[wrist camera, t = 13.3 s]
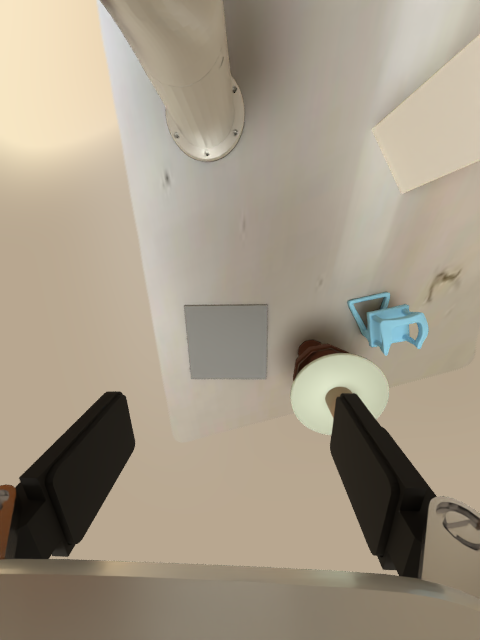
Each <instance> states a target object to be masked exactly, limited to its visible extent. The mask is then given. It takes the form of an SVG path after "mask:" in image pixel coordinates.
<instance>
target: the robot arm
mask: <svg viewBox="0 0 480 640" xmlns="http://www.w3.org/2000/svg"><path fill="white" fill-rule="evenodd" d="M100 1H101V3H102V4H103V5H104V7H105V8H106V9H107V11H108V12H109V13H110V15H111V16H112V18H113V19H114V21H115V22H116V24H117V25H118V27H119V29H120V30H121V32H122V33H123V35H124V37H125V38H126V40H127V42H128V43H129V45H130V47H131V48H132V50H133V52H134V53H135V55H136V57H137V58H138V60H139V62H140V64H141V66H142V67H143V69H144V71H145V72H146V74H147V76H148V78H149V79H150V81H151V83H152V84H153V86H154V88H155V89H156V91H157V93H158V95H159V96H160V98H161V100H162V101H163V103H164V105H165V107H166V120H167V125H168V128H169V131H170V134H171V135H172V137H173V139H174V141H175V142H176V144H177V145H178V147H179V148H180V149H181V150H182V151H183V152H184V153H185V154H187V155H188V156H189V157H191V158H193V159H196V160H199V161H215V160H218V159H220V158H222V157H224V156H225V155H227V154H228V153H229V152H230V151H231V150H232V149H233V148H234V147H235V145H236V144H237V142H238V140H239V138H240V136H241V133H242V130H243V126H244V115H245V113H244V102H243V97H242V94H241V91H240V88H239V86H238V85H237V83H236V81H235V79H234V78H233V77H232V76H231V73H230V64H229V54H228V45H227V35H226V26H225V15H224V6H223V0H100ZM233 92H236V93H233ZM234 134H237V136H234ZM178 136H179V138H177V137H178ZM206 155H209V156H208V157H206ZM134 447H135V439H134V434H133V429H132V424H131V419H130V414H129V409H128V405H127V400H126V396H124V395H123V394H122V393H121V392H106V393H104V395H102V396H101V397H100V398H99V399H98V400H97V401H96V402H95V403H94V404H93V405H92V406H91V407H90V408H89V409H88V410H87V411H86V412H85V413H84V414H83V415H82V416H81V417H80V418H79V419H78V420H77V421H76V422H75V423H74V424H73V425H72V426H71V427H70V428H69V429H68V430H67V431H66V432H65V433H64V434H63V435H62V436H61V437H60V438H59V439H58V440H57V441H56V442H55V443H54V444H53V445H52V446H51V447H50V448H49V449H48V450H47V451H46V452H45V453H44V454H43V455H42V456H41V457H40V458H39V459H38V460H37V461H36V462H35V463H34V464H33V465H32V466H31V467H30V468H29V469H28V470H27V471H26V472H25V473H24V474H23V475H22V476H20V478H19V479H20V481H21V482H20V483H19V484H18V485H17V486H16V487H13V486H12V485H1V486H0V640H480V513H478V512H477V511H476V510H475V509H473V508H471V507H470V506H468V505H466V504H465V503H463V502H460V501H458V500H456V499H453V498H449V497H445V496H440V497H437V496H436V495H435V494H434V492H433V491H432V490H431V488H430V487H429V486H428V484H427V483H426V482H425V481H424V479H423V478H422V477H421V475H420V474H419V473H418V471H417V470H416V469H415V467H414V466H413V465H412V463H411V462H410V461H409V459H408V458H407V457H406V455H405V454H404V453H403V452H402V450H401V449H400V448H399V446H398V445H397V444H396V442H395V441H394V440H393V438H392V437H391V436H390V434H389V433H388V432H387V431H386V430H385V429H384V428H383V427H381V426H380V424H379V423H378V422H377V421H376V419H375V418H374V416H373V415H372V414H371V412H370V411H369V410H368V408H367V407H366V406H365V404H364V403H363V402H362V400H361V399H360V398H359V396H358V395H357V394H355V393H342V394H341V395H340V397H337V398H336V403H335V411H334V419H333V427H332V435H331V443H330V450H331V454H332V457H333V460H334V462H335V465H336V467H337V470H338V472H339V474H340V477H341V479H342V482H343V484H344V487H345V489H346V492H347V494H348V497H349V499H350V502H351V504H352V507H353V509H354V512H355V514H356V517H357V519H358V522H359V524H360V527H361V529H362V532H363V534H364V537H365V539H366V542H367V544H368V547H369V549H370V551H371V553H372V554H373V555H376V556H378V559H379V561H380V564H381V566H382V568H383V569H384V570H397V572H398V574H399V576H395V575H386V574H374V573H359V572H346V571H332V570H312V569H291V568H271V567H250V566H227V565H226V566H225V565H203V564H179V563H155V562H127V561H125V562H124V561H99V560H70V559H49V557H50V556H51V554H52V556H65V557H68V556H69V554H70V553H71V551H72V549H73V548H74V546H75V544H78V543H79V542H80V541H81V540H82V539H83V537H84V535H85V534H86V532H87V530H88V528H89V527H90V525H91V523H92V521H93V520H94V518H95V516H96V515H97V513H98V511H99V509H100V508H101V506H102V504H103V502H104V501H105V499H106V497H107V495H108V494H109V492H110V490H111V489H112V487H113V485H114V483H115V482H116V480H117V478H118V476H119V475H120V473H121V471H122V469H123V468H124V466H125V464H126V463H127V461H128V459H129V457H130V456H131V454H132V452H133V450H134Z"/></svg>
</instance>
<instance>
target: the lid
mask: <svg viewBox="0 0 480 640" xmlns="http://www.w3.org/2000/svg"><path fill="white" fill-rule="evenodd" d="M342 393H355V394H357V395H358V396H359V398H360V399H361V400H362V402H363V403H364V404H365V406H366V407H367V408H368V410H369V411H370V412H371V414H372V415H373V416H374V418H375V419H377V418H378V417H379V416H380V415H381V413H382V412H383V410H384V409H385V407H386V404H387V401H388V397H389V387H388V382H387V380H386V377H385V376H384V374H383V373H382V371H381V370H380V369H379V368H378V367H377V366H376V365H375V364H374V363H372V362H371V361H369V360H368V359H366V358H364V357H361V356H358V355H355V354H349V353H336V354H330V355H326V356H323V357H320V358H318V359H316V360H314V361H312V362H311V363H309V364H308V365H306V366H305V367H304V368H303V369H302V370H301V371H300V372H299V373H298V375H297V376H296V378H295V380H294V382H293V384H292V387H291V393H290V399H291V404H292V408H293V411H294V413H295V415H296V417H297V418H298V419H299V421H300V422H302V424H304V425H305V426H306V427H308V428H309V429H311V430H313V431H316V432H318V433H322V434H327V435H332V427H333V419H334V411H335V403H336V398H337V397H340V395H341V394H342Z"/></svg>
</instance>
